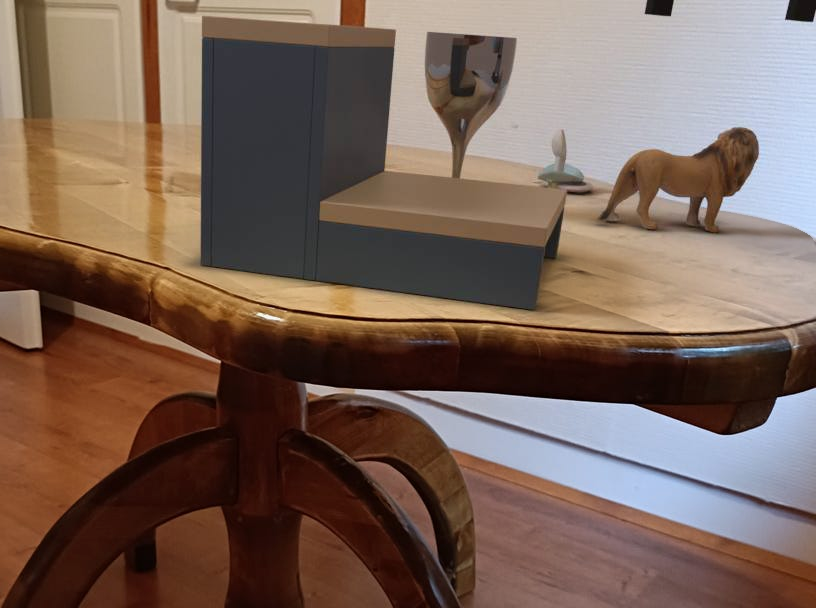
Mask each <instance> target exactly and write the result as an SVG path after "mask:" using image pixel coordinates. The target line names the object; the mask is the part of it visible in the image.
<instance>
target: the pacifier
mask: <svg viewBox="0 0 816 608" xmlns="http://www.w3.org/2000/svg"><path fill="white" fill-rule="evenodd" d="M551 151H552V153H553V155H554V157H555V162H554V163H552V164H549V165H547V166H545V167H544V168H543V169H542V171H541V172H538V174H537V179H538V180H540V181H543V182H547V188H555V189H564V190H567V192H571V193H573V192H574V193H584V192H585V193H586V192H589V191H590V192H591V191H592V190H593V189H594V185H593V184H591V182H588V181H584V180H585V175H584V174H583V172H582V171H581V170H580V169H579V168H578V167H575V166H574V165H571V164H568V163H566V160H567V140H566V133H565V131H564V130H563V129H558V130H557V131H556V132H555V133H554V134H553V137H552V139H551Z"/></svg>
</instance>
